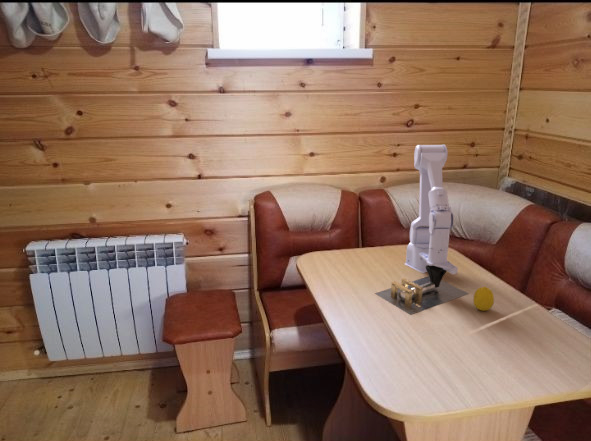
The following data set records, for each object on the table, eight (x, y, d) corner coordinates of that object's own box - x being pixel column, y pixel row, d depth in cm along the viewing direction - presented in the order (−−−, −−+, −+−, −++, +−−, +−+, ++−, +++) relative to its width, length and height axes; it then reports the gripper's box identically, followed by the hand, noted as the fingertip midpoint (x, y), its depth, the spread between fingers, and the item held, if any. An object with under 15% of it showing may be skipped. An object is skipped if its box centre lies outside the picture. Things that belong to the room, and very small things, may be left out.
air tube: (404, 302, 145) (405, 293, 144) (398, 298, 147) (398, 290, 146) (434, 291, 151) (435, 283, 150) (428, 288, 154) (429, 280, 153)
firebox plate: (374, 295, 151) (375, 279, 149) (431, 276, 163) (432, 262, 161) (410, 316, 138) (411, 299, 136) (468, 295, 150) (470, 279, 148)
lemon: (470, 313, 139) (473, 288, 137) (473, 305, 144) (476, 281, 141) (491, 317, 137) (494, 292, 134) (493, 309, 141) (496, 284, 139)
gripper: (412, 242, 153) (409, 281, 157) (447, 257, 141) (443, 298, 145) (428, 238, 156) (425, 276, 160) (463, 252, 144) (459, 293, 148)
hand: (435, 286), depth 153 cm, fingers closed, pressing on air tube
